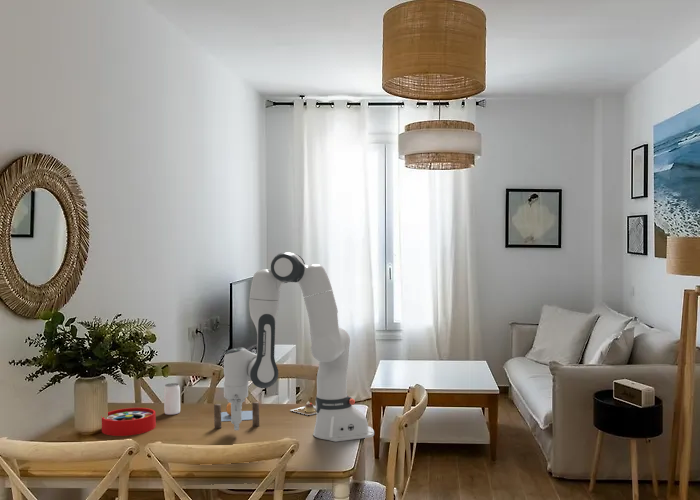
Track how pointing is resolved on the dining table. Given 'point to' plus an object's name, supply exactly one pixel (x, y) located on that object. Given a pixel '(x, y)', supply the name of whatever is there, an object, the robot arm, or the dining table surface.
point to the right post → (255, 413)
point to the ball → (228, 409)
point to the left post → (217, 416)
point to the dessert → (306, 408)
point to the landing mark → (245, 414)
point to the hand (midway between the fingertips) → (236, 429)
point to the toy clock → (129, 421)
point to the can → (172, 399)
